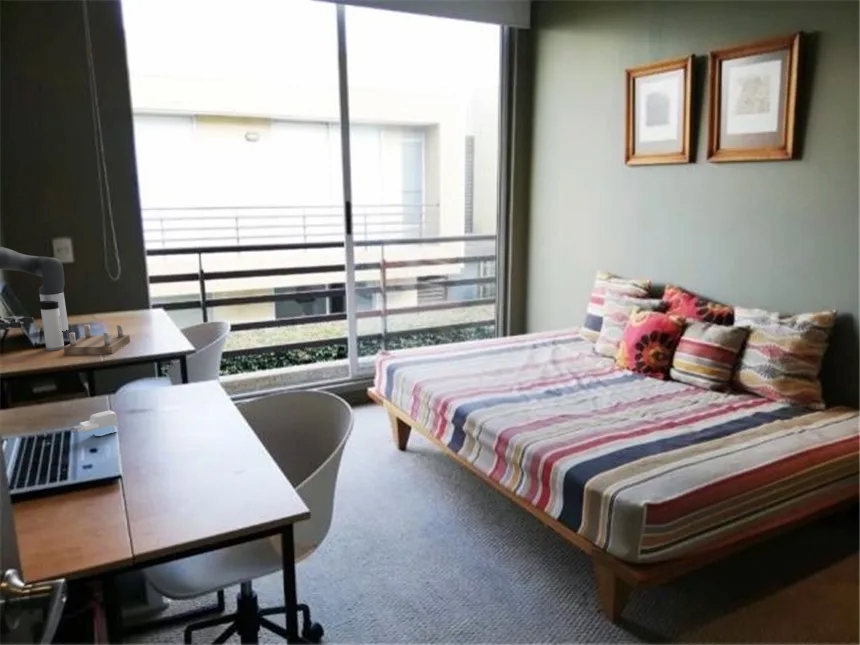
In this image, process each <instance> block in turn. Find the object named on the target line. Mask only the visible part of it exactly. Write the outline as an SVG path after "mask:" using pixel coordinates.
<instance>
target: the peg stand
mask: <svg viewBox="0 0 860 645" xmlns="http://www.w3.org/2000/svg"><path fill="white" fill-rule="evenodd" d="M83 326H84V327H83V328H84V336H82V337H80V338H78V339H77V340H76V332H69V333H68V337H69V344H67V345H64V348H63V351H64V353H63V354H64V355H68V356H69V355H107V354H106V353H113V352H114V353H116V352H118V351H119V350H120V349H122V348H124V347H125V346H126V344H127V345H129V342H130V343H131V339H130V338H131V337H130V335H129V334H126V335H125V334H124V330H123V324H117V325H116V328H117V330H116V331H117V334H116V335H115V334H114V335H113V334H112V335H110V332H109V331H105V332H103V334H102V335H92V333H91V332H92V331H91V326H90V324H85V325H83ZM124 345H125V346H124ZM121 347H122V348H121ZM118 349H119V350H118ZM115 351H116V352H115ZM114 353H113V354H114Z"/></svg>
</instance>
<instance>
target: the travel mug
mask: <svg viewBox="0 0 860 645" xmlns="http://www.w3.org/2000/svg"><path fill="white" fill-rule="evenodd" d="M38 302H39V304H40V306H39V307H40V313H41V314H40V315H41V320H42V328H43V335H44V341H45V349H46V350H47V351H51V352H52V351H59V350H64V347H65V342H64V336H63V335H64V334H63V332H62V326H61V319H60V311H59V306H58V302H55V301H41V300H39V301H38Z"/></svg>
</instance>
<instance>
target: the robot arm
mask: <svg viewBox="0 0 860 645" xmlns="http://www.w3.org/2000/svg"><path fill="white" fill-rule="evenodd" d="M0 270H3V271H4V270H5V271H19V272H24V273H28V274H31V275H35V276H37V277H40V278H42V285H41V286H40V287H39V289H38V292H39V298H40V299H39V301H55V302H58V306H59V311H60V319H61V326H62V331H63V332H66V330H67V331H69V323H68V322H69V321H68V314H67V309H66V308H67V307H66V300H65V292H64V288H65V272H64V266H63V263H62V261H61V260H59V259H58V258H56V257H52V256H51V257H49V256H37V255H28V254H24V253H20V252H18V251H16V250H13V249H10V248H7V247H3V246H0ZM33 323H35V320H34V317H33V316H32V317H31V316H29V317H26V316H25V315H9V316H3V317H2V316H1V315H0V331H6V330H10V329H21V328H23V324H33Z"/></svg>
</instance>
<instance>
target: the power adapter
mask: <svg viewBox="0 0 860 645" xmlns="http://www.w3.org/2000/svg"><path fill="white" fill-rule="evenodd" d="M117 417H118V416H117V414H116V412H115V411H113V410H109V409H108V410H104V411H100V412H97V413H92V414H90V417H89V420H85V421H81V422H79V424H78V425H76V426H72V427H68V431H71V432H72V434H76V433H78V432H84V431H85V432H84V433H89V432H92V430H95V429H99V428H103V427H107V426H111V425H115V426H116V427H117V429H118V430H119V426H118V425H119V424H118V418H117ZM88 431H89V432H88Z"/></svg>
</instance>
